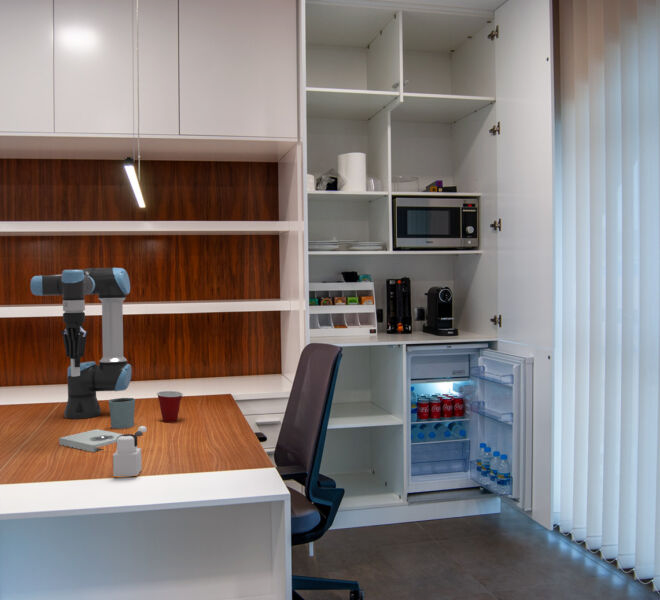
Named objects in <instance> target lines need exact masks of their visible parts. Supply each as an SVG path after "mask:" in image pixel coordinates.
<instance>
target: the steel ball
mask: <svg viewBox="0 0 660 600" xmlns="http://www.w3.org/2000/svg"><path fill="white" fill-rule="evenodd" d="M104 439H107V437H106V436H103V435H102V436H99V437H98V439H97V440H104Z"/></svg>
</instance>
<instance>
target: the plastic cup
mask: <svg viewBox="0 0 660 600" xmlns="http://www.w3.org/2000/svg"><path fill="white" fill-rule="evenodd" d="M183 395H184V393H183V392H181V391H175V390H162V391H158V392H156V396H157V398H158V401H159V402H158V403H159V407H160V408H159V409H160V413H161V418H162V421H163V422H165V423H173V422H177V421H178V418H179V412H180V406H181V401H182V398H183Z"/></svg>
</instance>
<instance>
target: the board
mask: <svg viewBox="0 0 660 600" xmlns="http://www.w3.org/2000/svg"><path fill="white" fill-rule="evenodd" d="M102 435H103V436H106V437H107V439H104V440H97V439H98V437H99V436H102ZM120 435H124V433H120V432H113V431H109V430H108V431H107V430H102V429H98V428H97V429H92V430H88V431H83V432H80V433H79V432H78V433H75V434H71V435H66V436H62V437H59V438H58V443H59V444H60V446H63V445H64V446H63V447H67V446H69V448H72V447H73V449H76V448H77V450H80V449H82V450H81V451H85V450H86V451H85V452H89V451H91V452H90V453H96V451H97V452H101V451H104V449H103V448H101V447H104V446H108V445H112V444H115V443H116V444H117V437H119V436H120ZM59 444H58V445H59ZM100 450H101V451H100Z"/></svg>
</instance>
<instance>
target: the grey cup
mask: <svg viewBox="0 0 660 600" xmlns="http://www.w3.org/2000/svg"><path fill="white" fill-rule="evenodd" d="M108 409H109V414H110V415H109V417H110V428H111V429H116V430H117V429H118V430H119V429H120V430H121V429H129V428H132V427H134V426H135V410H136V399H135V398H133V397H118V398H112V399H108Z"/></svg>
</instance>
